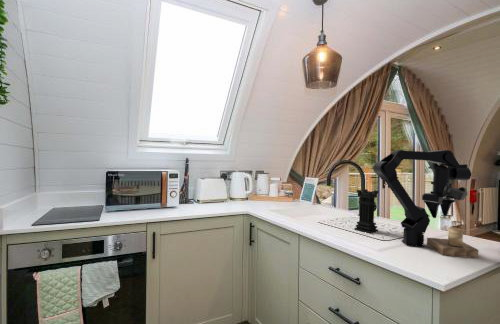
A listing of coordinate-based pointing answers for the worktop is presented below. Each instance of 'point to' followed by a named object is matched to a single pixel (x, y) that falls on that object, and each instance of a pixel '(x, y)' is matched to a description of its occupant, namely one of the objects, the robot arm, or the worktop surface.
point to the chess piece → (366, 211)
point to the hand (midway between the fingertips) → (439, 216)
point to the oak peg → (455, 237)
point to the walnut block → (452, 248)
